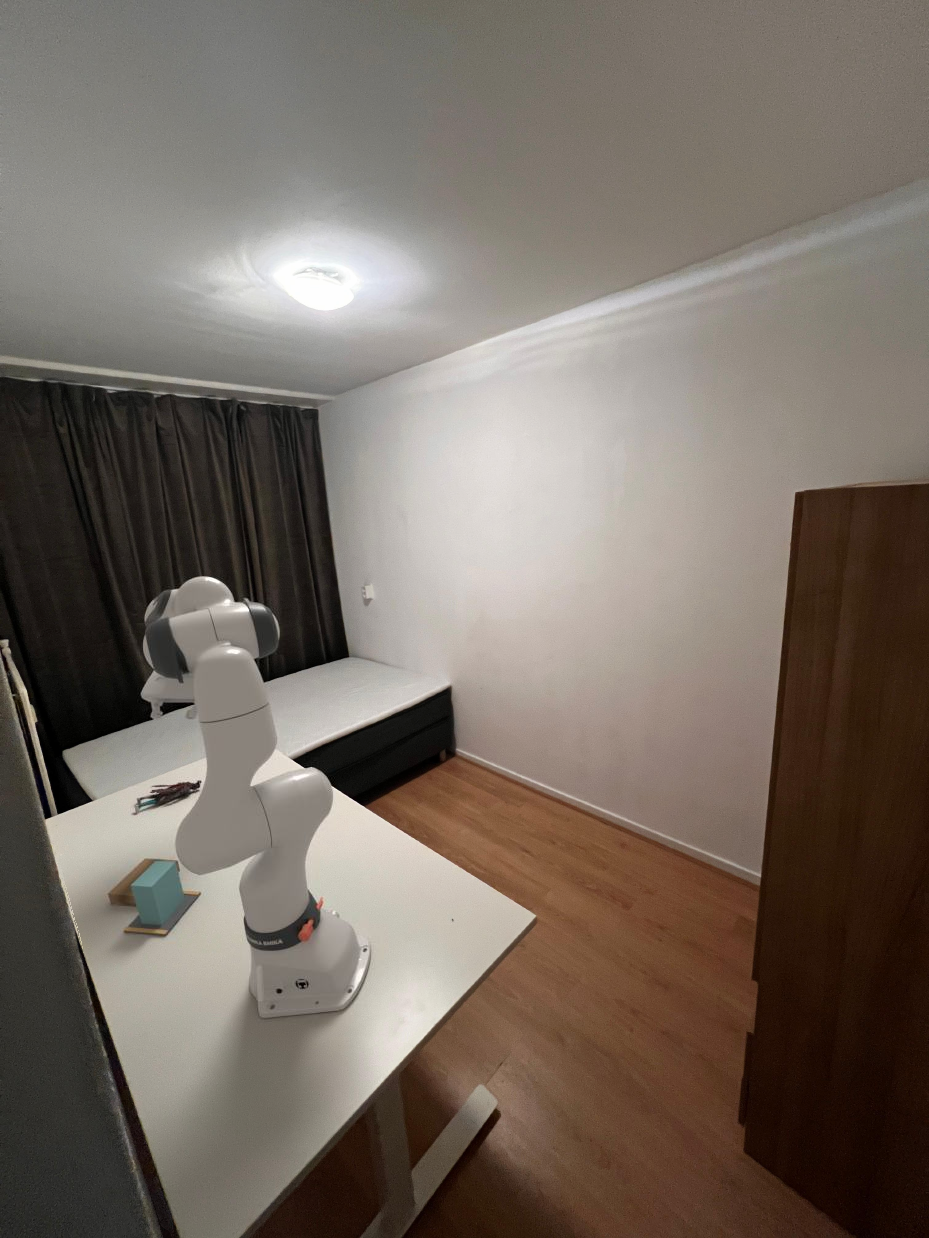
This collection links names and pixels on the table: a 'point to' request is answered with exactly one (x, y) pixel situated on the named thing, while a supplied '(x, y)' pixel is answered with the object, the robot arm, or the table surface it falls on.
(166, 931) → the mat
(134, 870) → the block
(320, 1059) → the table surface
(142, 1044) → the table surface
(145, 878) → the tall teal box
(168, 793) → the action figure
